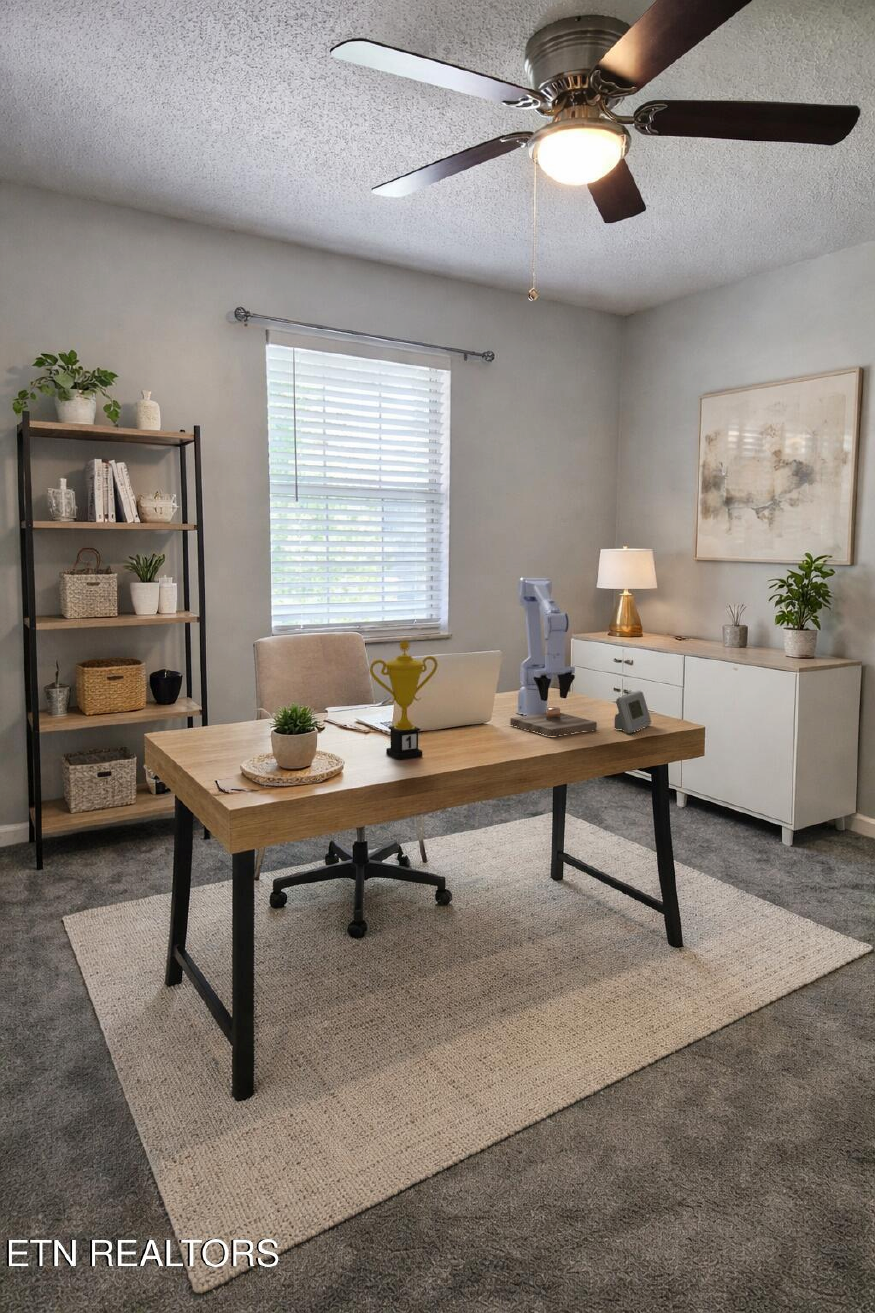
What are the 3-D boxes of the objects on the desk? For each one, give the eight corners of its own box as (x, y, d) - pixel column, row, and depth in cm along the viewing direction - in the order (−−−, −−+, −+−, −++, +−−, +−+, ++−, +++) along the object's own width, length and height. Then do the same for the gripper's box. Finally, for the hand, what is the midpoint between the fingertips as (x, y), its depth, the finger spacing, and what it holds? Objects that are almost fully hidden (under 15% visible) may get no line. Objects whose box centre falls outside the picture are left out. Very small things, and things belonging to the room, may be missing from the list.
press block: (510, 726, 242) (510, 714, 242) (554, 719, 252) (555, 708, 252) (550, 738, 227) (551, 726, 227) (596, 730, 237) (596, 718, 237)
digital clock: (629, 735, 231) (630, 699, 230) (603, 730, 238) (604, 695, 236) (660, 727, 242) (662, 693, 241) (635, 722, 249) (636, 688, 247)
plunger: (543, 727, 240) (543, 707, 239) (553, 725, 242) (553, 706, 242) (552, 729, 237) (553, 710, 236) (562, 728, 239) (563, 708, 238)
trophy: (378, 764, 198) (378, 644, 194) (362, 755, 207) (361, 639, 202) (445, 755, 208) (447, 640, 204) (427, 747, 216) (428, 636, 212)
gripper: (545, 657, 229) (544, 704, 231) (582, 653, 237) (581, 698, 239) (529, 654, 235) (528, 699, 237) (566, 650, 243) (564, 695, 245)
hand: (553, 699), depth 238 cm, fingers open, 7 cm apart
